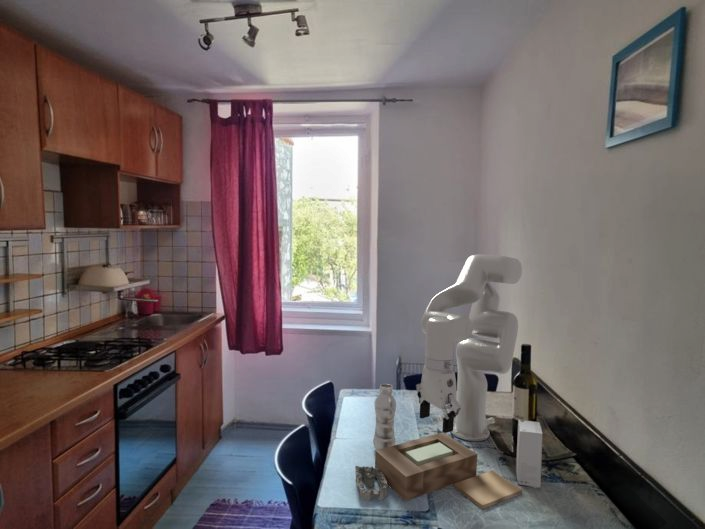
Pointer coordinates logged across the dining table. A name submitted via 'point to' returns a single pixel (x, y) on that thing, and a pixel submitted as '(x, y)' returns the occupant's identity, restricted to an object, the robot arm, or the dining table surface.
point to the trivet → (487, 489)
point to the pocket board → (425, 467)
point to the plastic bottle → (384, 418)
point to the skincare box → (529, 453)
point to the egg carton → (370, 482)
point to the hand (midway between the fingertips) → (435, 424)
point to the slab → (428, 454)
